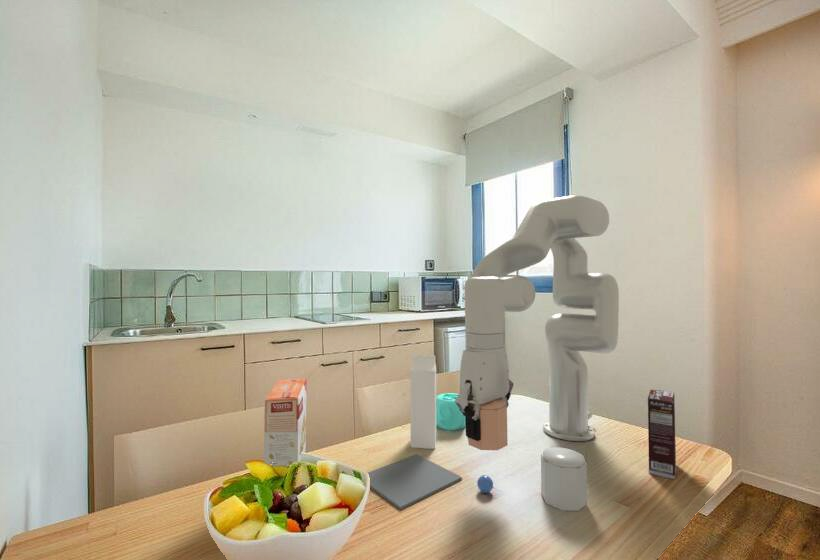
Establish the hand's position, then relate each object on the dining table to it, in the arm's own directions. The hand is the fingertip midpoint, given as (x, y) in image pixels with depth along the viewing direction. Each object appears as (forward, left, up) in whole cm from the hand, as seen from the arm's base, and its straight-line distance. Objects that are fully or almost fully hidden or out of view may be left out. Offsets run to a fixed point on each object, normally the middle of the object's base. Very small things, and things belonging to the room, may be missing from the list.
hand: (486, 431), depth 74 cm
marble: (+1, 0, -11) cm, 11 cm away
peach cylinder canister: (0, 0, -2) cm, 2 cm away
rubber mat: (+9, -13, -11) cm, 19 cm away
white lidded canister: (-8, +11, -11) cm, 18 cm away
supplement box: (-35, +19, -12) cm, 42 cm away
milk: (-5, -24, -12) cm, 27 cm away
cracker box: (+31, -22, -12) cm, 39 cm away
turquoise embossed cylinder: (-19, -28, -12) cm, 36 cm away
